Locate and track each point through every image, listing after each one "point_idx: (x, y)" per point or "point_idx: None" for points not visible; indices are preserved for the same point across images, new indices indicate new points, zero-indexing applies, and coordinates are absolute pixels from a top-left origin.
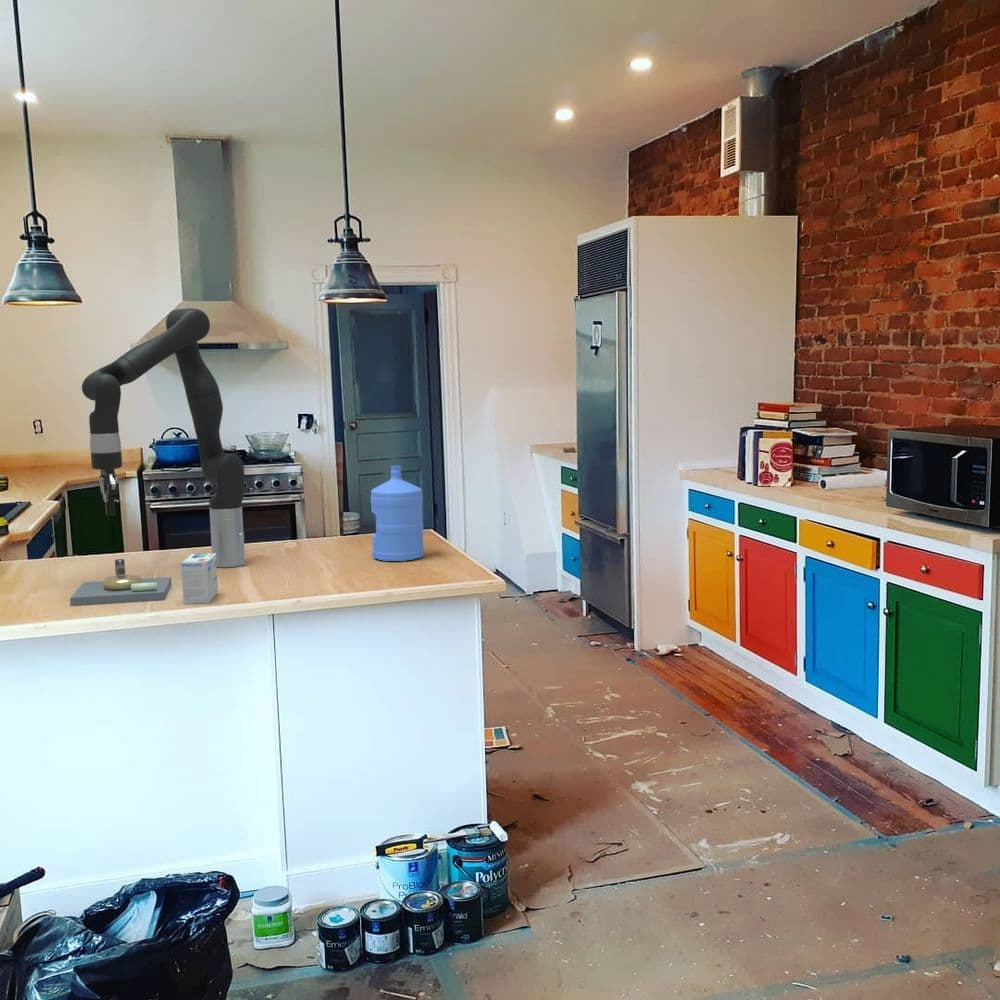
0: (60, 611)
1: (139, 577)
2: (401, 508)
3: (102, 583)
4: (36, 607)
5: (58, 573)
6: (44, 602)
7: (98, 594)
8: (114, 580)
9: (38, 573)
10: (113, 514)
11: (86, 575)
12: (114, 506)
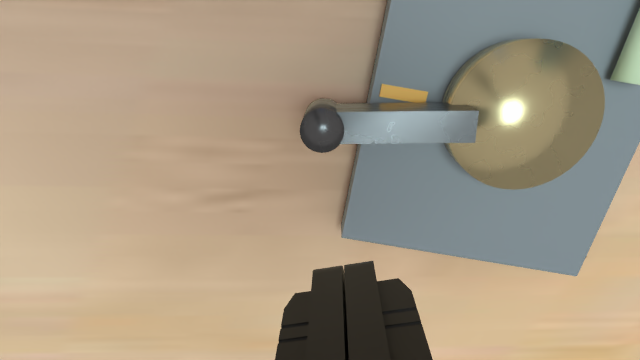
0: (616, 285)
1: (553, 45)
2: None
3: (394, 180)
4: (518, 337)
5: (41, 292)
6: (464, 321)
7: (584, 196)
8: (549, 150)
9: (28, 340)
10: (377, 281)
11: (98, 216)
12: (387, 331)
